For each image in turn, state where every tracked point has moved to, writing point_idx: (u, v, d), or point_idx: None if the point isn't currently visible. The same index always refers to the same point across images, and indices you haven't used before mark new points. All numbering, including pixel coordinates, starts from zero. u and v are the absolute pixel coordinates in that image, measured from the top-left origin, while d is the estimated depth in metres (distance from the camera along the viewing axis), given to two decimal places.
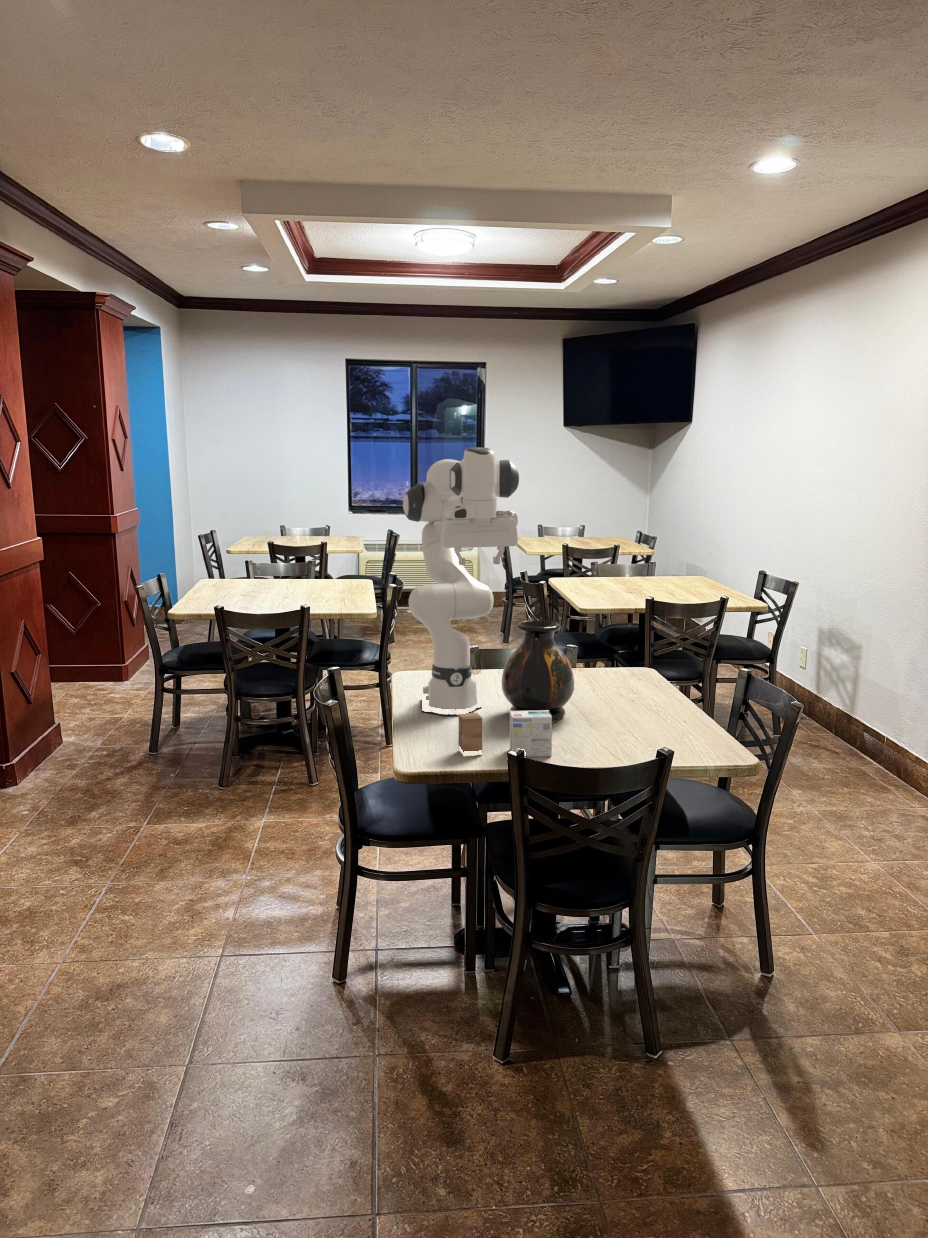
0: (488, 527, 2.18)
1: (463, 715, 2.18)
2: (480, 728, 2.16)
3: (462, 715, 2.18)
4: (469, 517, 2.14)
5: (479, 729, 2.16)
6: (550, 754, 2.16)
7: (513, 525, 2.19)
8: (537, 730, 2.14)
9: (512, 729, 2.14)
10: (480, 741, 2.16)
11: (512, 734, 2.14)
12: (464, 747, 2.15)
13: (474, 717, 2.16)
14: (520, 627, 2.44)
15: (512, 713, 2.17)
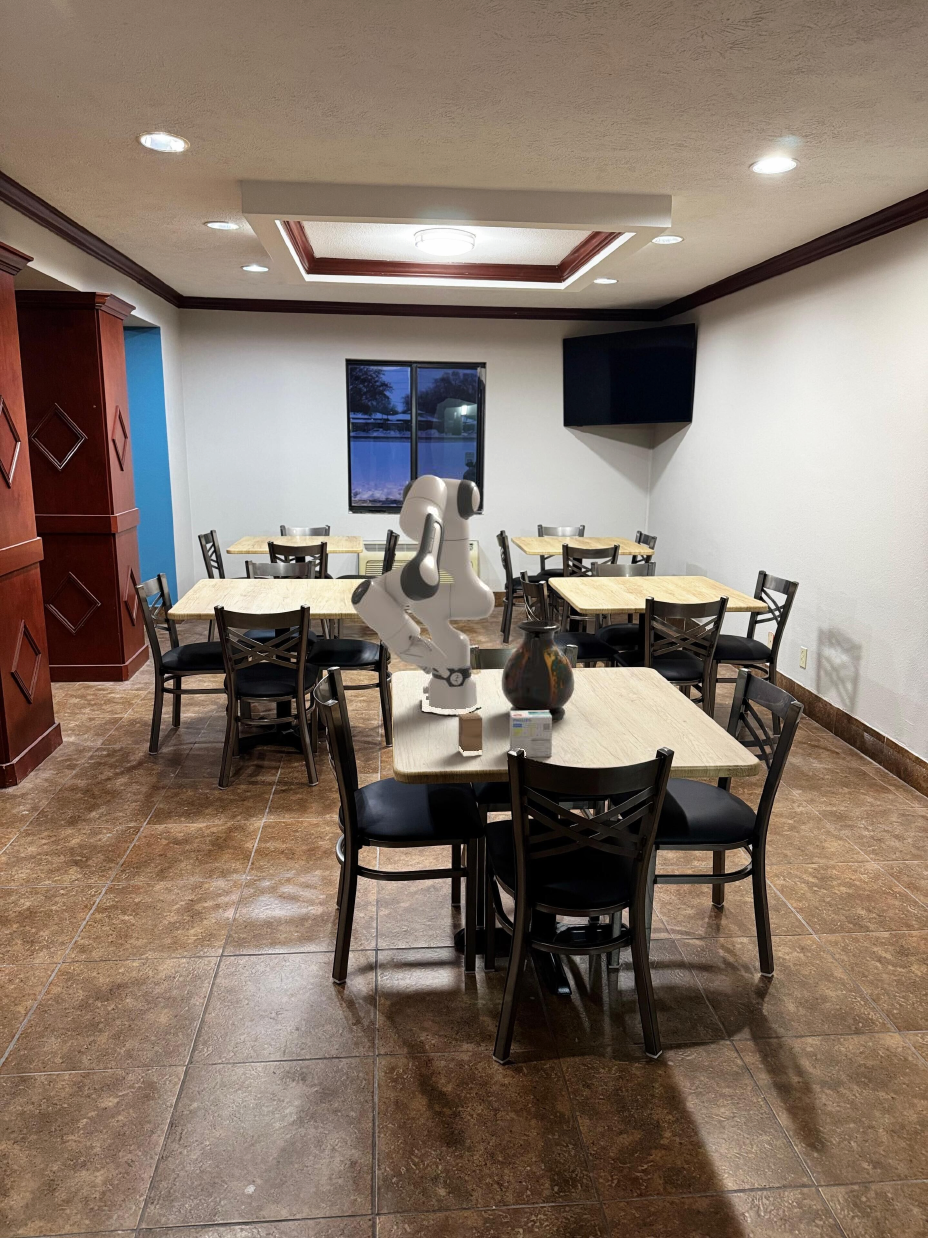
0: (412, 652, 2.06)
1: (463, 715, 2.18)
2: (480, 728, 2.16)
3: (462, 715, 2.18)
4: None
5: (479, 729, 2.16)
6: (550, 754, 2.16)
7: (422, 654, 2.00)
8: (537, 730, 2.14)
9: (512, 729, 2.14)
10: (480, 741, 2.16)
11: (512, 734, 2.14)
12: (464, 747, 2.15)
13: (474, 717, 2.16)
14: (520, 627, 2.44)
15: (512, 713, 2.17)
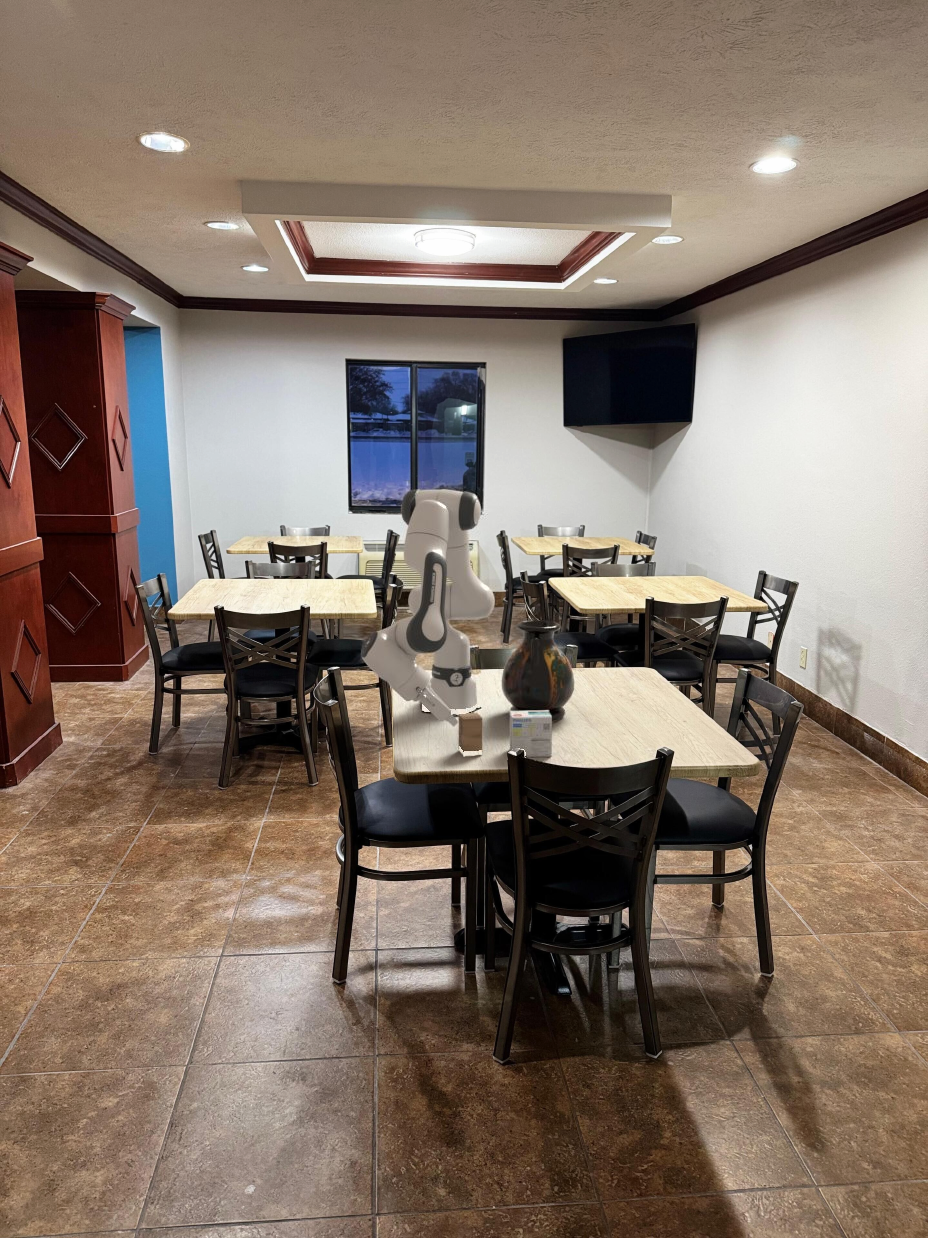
0: None
1: (463, 715, 2.18)
2: (480, 728, 2.16)
3: (462, 715, 2.18)
4: None
5: (479, 729, 2.16)
6: (550, 754, 2.16)
7: (426, 707, 2.05)
8: (537, 730, 2.14)
9: (512, 729, 2.14)
10: (480, 741, 2.16)
11: (512, 734, 2.14)
12: (464, 747, 2.15)
13: (474, 717, 2.16)
14: (520, 627, 2.44)
15: (512, 713, 2.17)
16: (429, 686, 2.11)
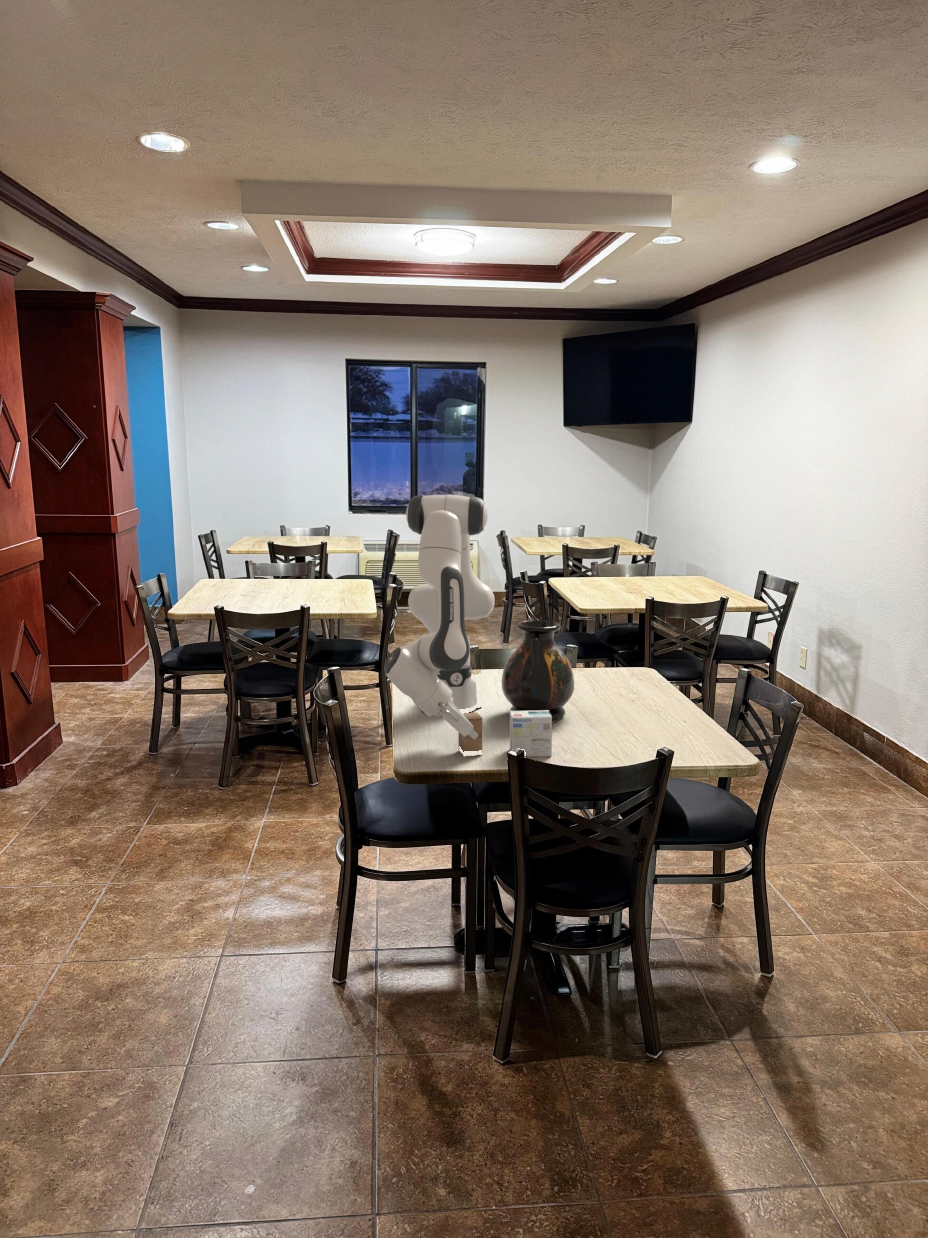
0: None
1: None
2: (480, 728, 2.16)
3: None
4: None
5: (479, 729, 2.16)
6: (550, 754, 2.16)
7: (449, 723, 2.07)
8: (537, 730, 2.14)
9: (512, 729, 2.14)
10: (480, 741, 2.16)
11: (512, 734, 2.14)
12: (464, 747, 2.15)
13: (474, 717, 2.16)
14: (520, 627, 2.44)
15: (512, 713, 2.17)
16: (451, 701, 2.13)
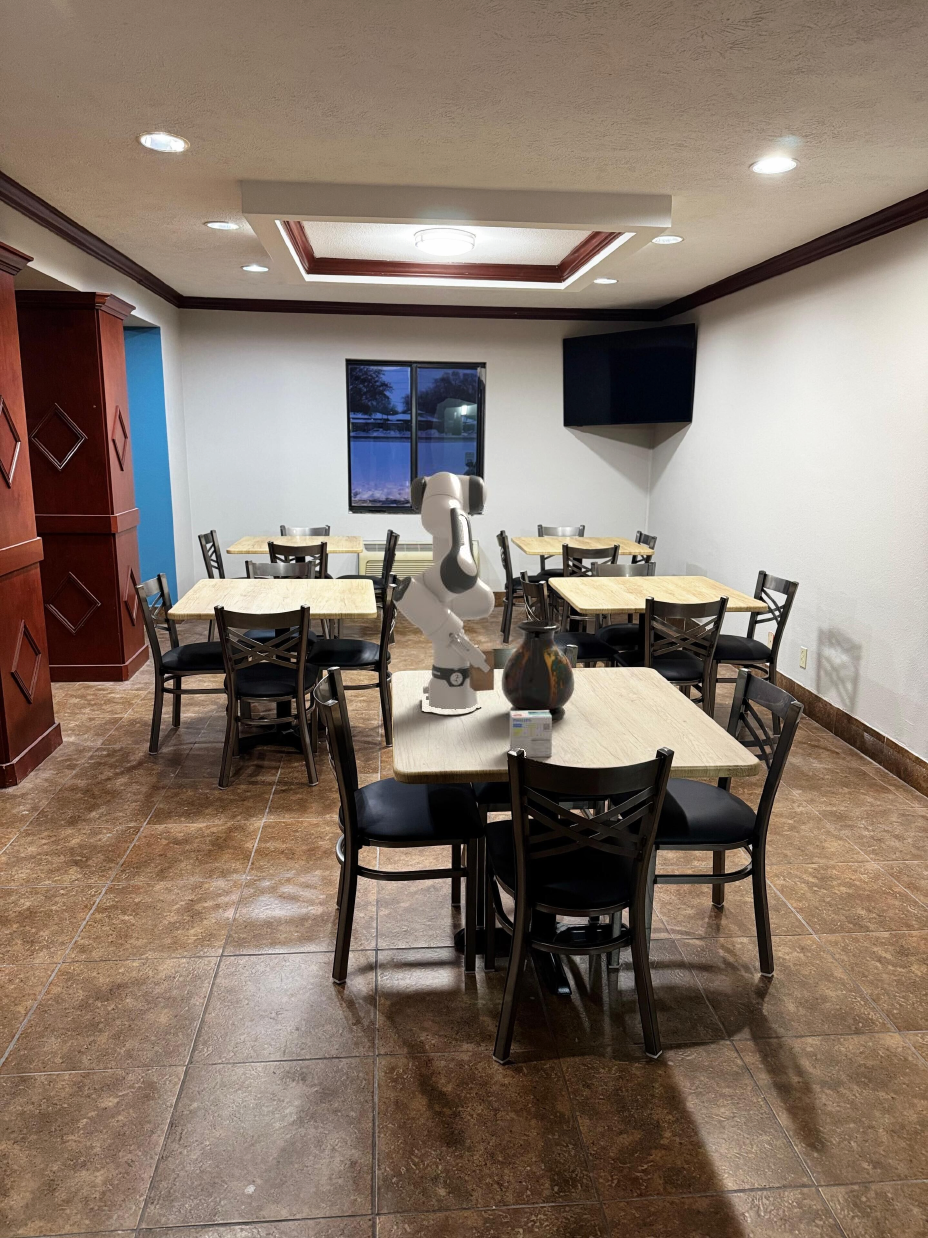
0: None
1: None
2: (492, 661, 2.09)
3: None
4: None
5: (491, 663, 2.09)
6: (550, 754, 2.16)
7: (460, 653, 2.00)
8: (537, 730, 2.14)
9: (512, 729, 2.14)
10: (492, 675, 2.10)
11: (512, 734, 2.14)
12: (475, 681, 2.09)
13: (485, 650, 2.09)
14: (520, 627, 2.44)
15: (512, 713, 2.17)
16: (462, 633, 2.07)
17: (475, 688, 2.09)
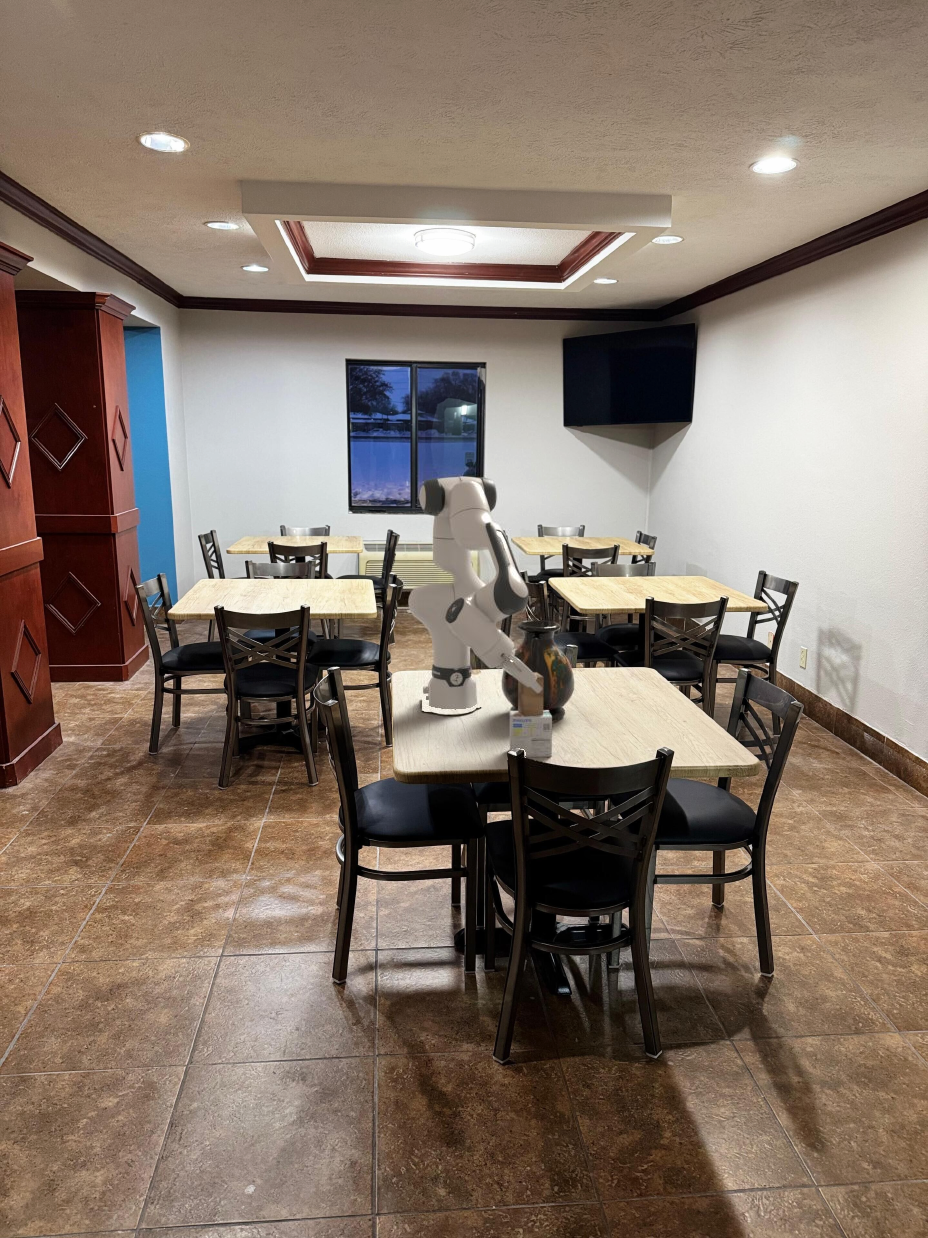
0: None
1: None
2: None
3: None
4: None
5: None
6: (550, 754, 2.16)
7: (512, 673, 2.05)
8: (537, 730, 2.14)
9: (512, 729, 2.14)
10: (541, 700, 2.14)
11: (512, 734, 2.14)
12: (525, 706, 2.14)
13: None
14: (520, 627, 2.44)
15: (512, 713, 2.17)
16: (513, 653, 2.11)
17: (525, 713, 2.14)
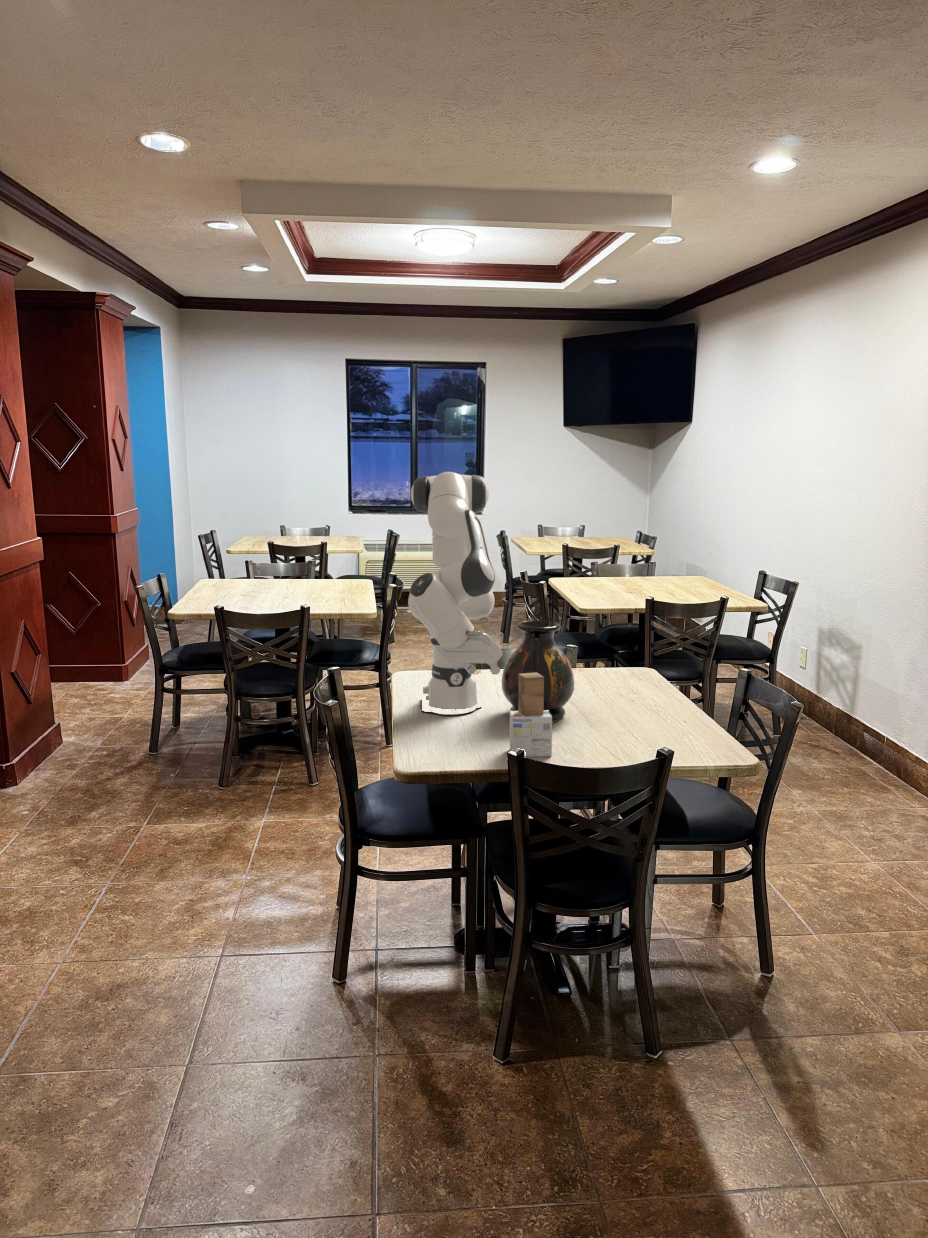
0: (466, 648, 2.08)
1: (524, 674, 2.16)
2: (542, 687, 2.14)
3: (522, 674, 2.16)
4: (441, 645, 2.10)
5: (541, 689, 2.14)
6: (550, 754, 2.16)
7: (481, 648, 2.02)
8: (537, 730, 2.14)
9: (512, 729, 2.14)
10: (541, 700, 2.15)
11: (512, 734, 2.14)
12: (526, 706, 2.14)
13: (535, 676, 2.14)
14: (520, 627, 2.44)
15: (512, 713, 2.17)
16: None
17: (525, 713, 2.14)
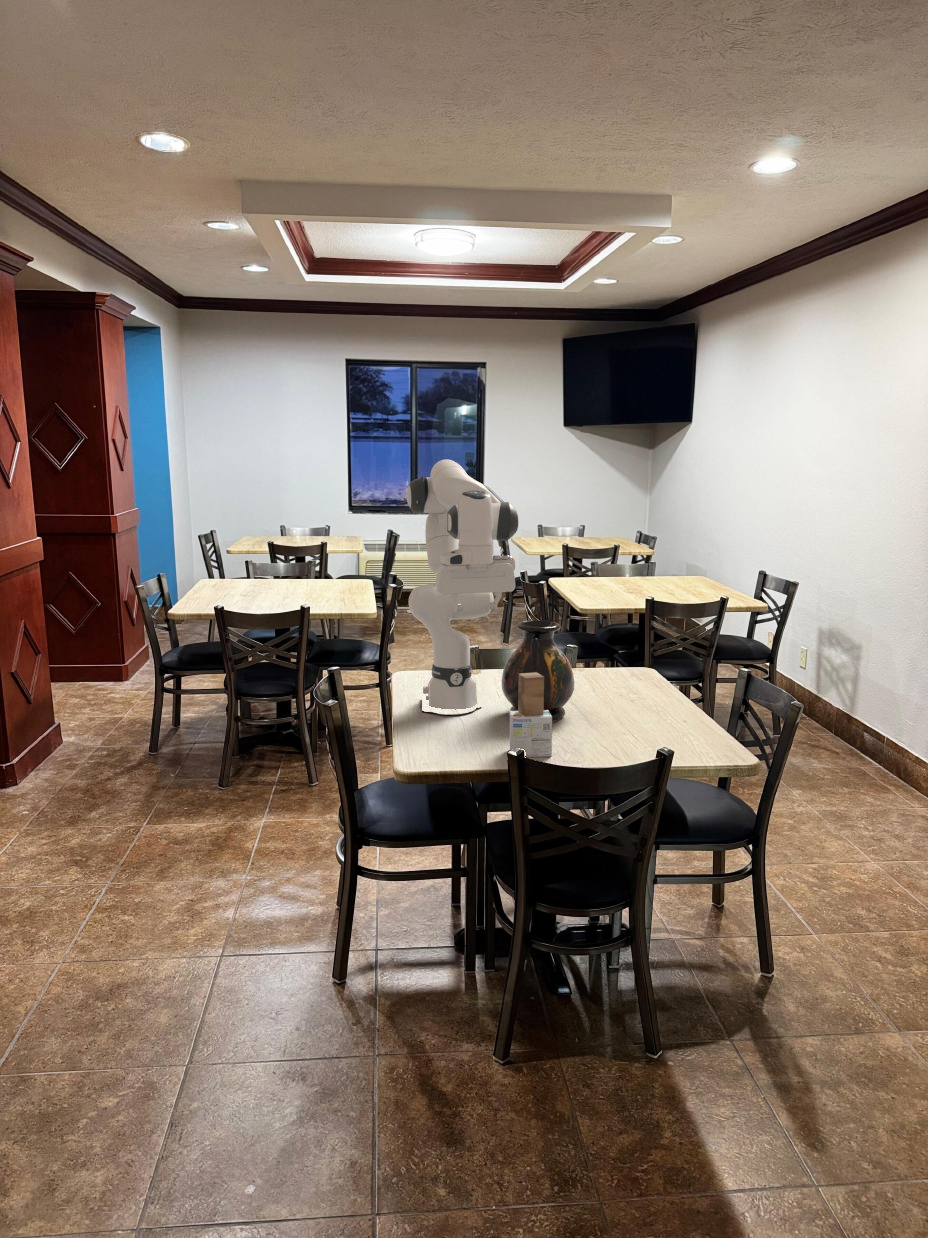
0: (485, 573, 2.12)
1: (524, 674, 2.16)
2: (542, 687, 2.14)
3: (522, 674, 2.16)
4: (465, 563, 2.08)
5: (541, 689, 2.14)
6: (550, 754, 2.16)
7: (510, 570, 2.13)
8: (537, 730, 2.14)
9: (512, 729, 2.14)
10: (541, 700, 2.15)
11: (512, 734, 2.14)
12: (526, 706, 2.14)
13: (535, 676, 2.14)
14: (520, 627, 2.44)
15: (512, 713, 2.17)
16: None
17: (526, 713, 2.14)
